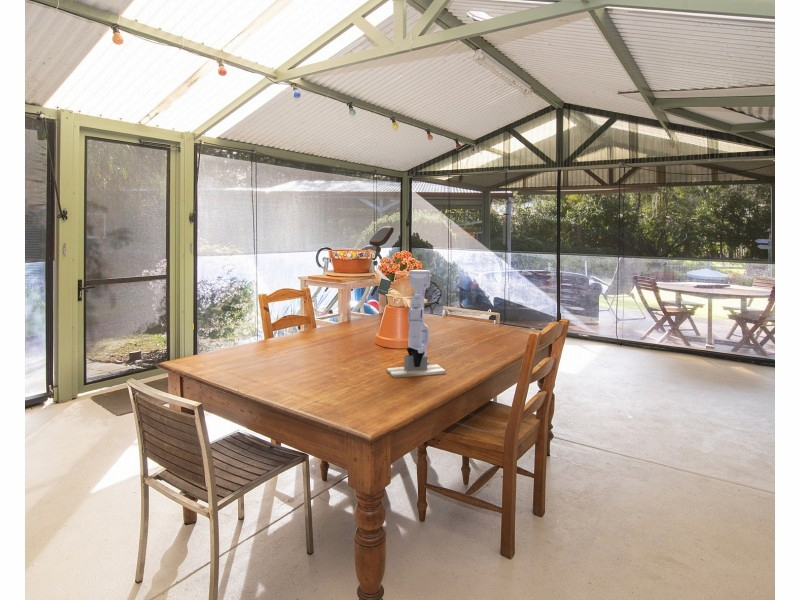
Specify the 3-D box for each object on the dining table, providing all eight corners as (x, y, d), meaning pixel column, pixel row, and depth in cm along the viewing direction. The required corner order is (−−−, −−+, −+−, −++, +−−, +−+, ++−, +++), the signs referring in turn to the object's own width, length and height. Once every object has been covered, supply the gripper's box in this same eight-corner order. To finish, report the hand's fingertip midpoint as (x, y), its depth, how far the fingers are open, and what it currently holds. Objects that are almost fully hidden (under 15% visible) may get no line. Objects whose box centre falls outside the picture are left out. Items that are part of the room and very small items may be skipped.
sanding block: (404, 368, 219) (404, 355, 219) (423, 367, 222) (423, 354, 221) (407, 371, 215) (407, 358, 214) (427, 370, 217) (427, 356, 216)
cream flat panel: (386, 370, 220) (386, 368, 220) (436, 366, 227) (436, 364, 227) (393, 377, 210) (393, 375, 210) (446, 373, 217) (446, 370, 217)
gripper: (429, 338, 210) (429, 368, 212) (418, 331, 224) (418, 360, 226) (414, 339, 208) (413, 370, 210) (403, 332, 222) (403, 361, 224)
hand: (415, 365), depth 218 cm, fingers closed on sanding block, 5 cm apart
